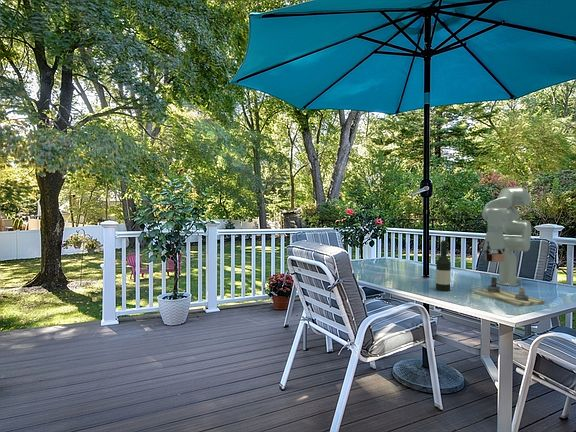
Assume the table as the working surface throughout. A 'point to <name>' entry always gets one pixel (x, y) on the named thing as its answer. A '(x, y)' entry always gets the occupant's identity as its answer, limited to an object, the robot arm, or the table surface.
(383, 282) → the table surface
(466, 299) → the table surface
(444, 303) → the table surface
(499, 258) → the collar
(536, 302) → the board
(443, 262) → the wine bottle
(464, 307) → the table surface
